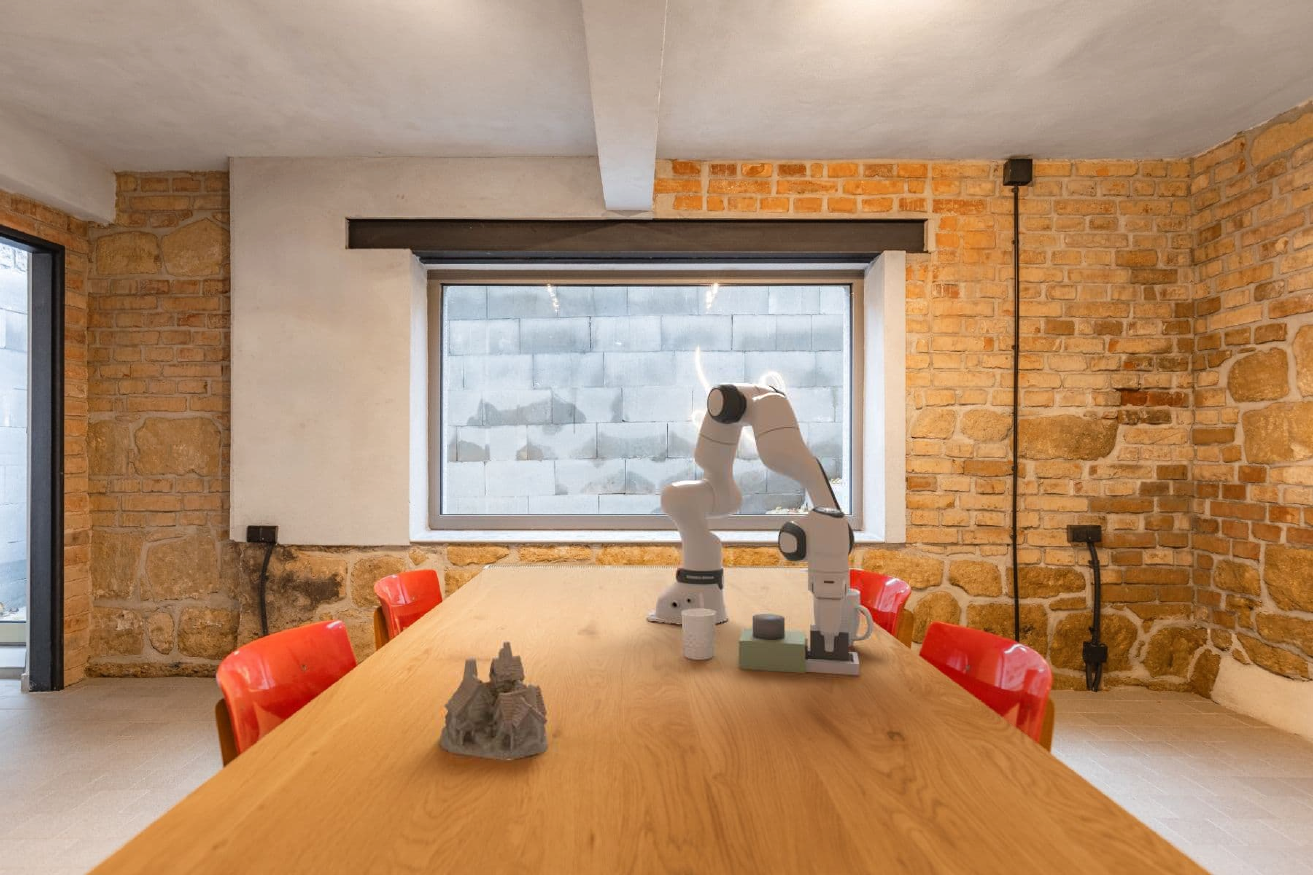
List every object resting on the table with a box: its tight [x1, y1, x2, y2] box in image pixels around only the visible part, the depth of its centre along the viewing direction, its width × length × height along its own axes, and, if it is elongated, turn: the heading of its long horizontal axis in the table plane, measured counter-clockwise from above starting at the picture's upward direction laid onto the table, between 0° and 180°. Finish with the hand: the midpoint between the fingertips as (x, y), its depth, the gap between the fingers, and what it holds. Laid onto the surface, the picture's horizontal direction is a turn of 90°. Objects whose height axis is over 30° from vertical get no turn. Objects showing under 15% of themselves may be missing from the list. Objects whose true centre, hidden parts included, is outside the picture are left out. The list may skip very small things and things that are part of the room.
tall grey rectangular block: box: [809, 624, 850, 661], centre depth 150 cm, size 5×8×6 cm, turn 77°
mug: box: [813, 588, 874, 648], centre depth 166 cm, size 15×11×13 cm
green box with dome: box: [738, 613, 860, 676], centre depth 151 cm, size 25×11×10 cm, turn 77°
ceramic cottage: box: [438, 641, 549, 761], centre depth 110 cm, size 16×16×15 cm
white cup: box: [681, 608, 717, 661], centre depth 158 cm, size 8×8×10 cm
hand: (828, 646), depth 150 cm, fingers closed on tall grey rectangular block, 5 cm apart
